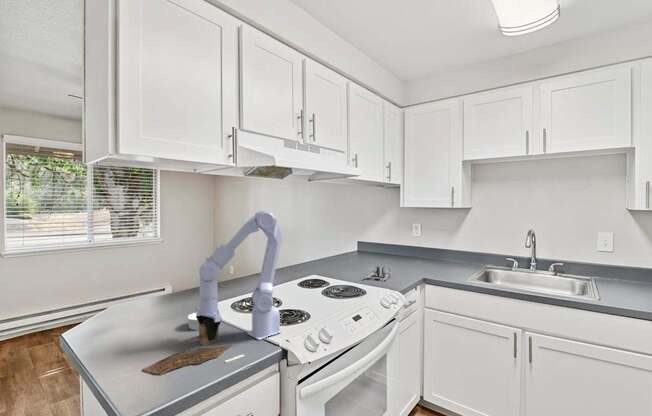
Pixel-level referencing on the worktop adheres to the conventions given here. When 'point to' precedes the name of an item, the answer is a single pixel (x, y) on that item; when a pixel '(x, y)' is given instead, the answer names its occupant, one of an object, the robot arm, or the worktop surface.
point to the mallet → (202, 336)
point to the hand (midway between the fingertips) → (208, 337)
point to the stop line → (234, 358)
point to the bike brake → (377, 271)
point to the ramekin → (193, 322)
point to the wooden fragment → (185, 359)
